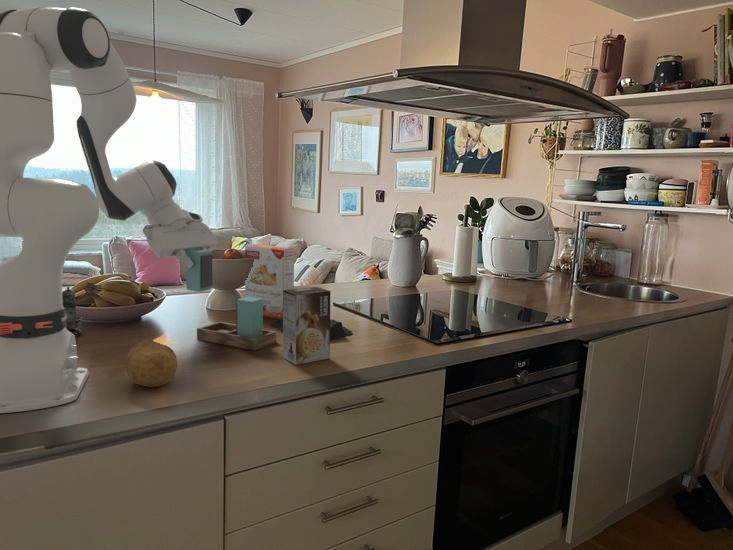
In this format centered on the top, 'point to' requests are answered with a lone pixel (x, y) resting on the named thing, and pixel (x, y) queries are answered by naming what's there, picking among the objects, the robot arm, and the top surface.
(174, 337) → the top surface
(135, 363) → the potato
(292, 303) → the grey cardboard box
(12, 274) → the robot arm
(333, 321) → the dark slate chunk
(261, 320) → the turquoise rectangular block
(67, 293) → the figurine
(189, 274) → the tall teal pillar
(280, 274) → the cracker box
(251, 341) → the wooden compartment tray
